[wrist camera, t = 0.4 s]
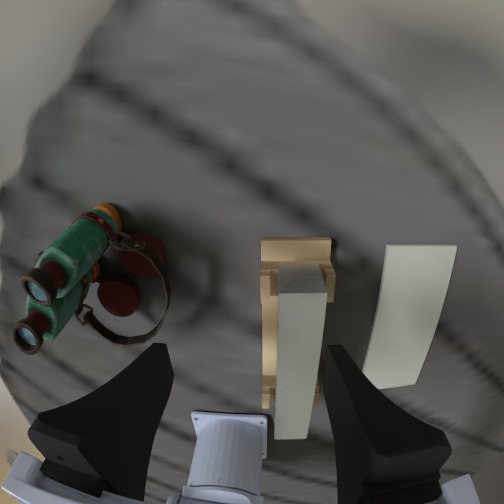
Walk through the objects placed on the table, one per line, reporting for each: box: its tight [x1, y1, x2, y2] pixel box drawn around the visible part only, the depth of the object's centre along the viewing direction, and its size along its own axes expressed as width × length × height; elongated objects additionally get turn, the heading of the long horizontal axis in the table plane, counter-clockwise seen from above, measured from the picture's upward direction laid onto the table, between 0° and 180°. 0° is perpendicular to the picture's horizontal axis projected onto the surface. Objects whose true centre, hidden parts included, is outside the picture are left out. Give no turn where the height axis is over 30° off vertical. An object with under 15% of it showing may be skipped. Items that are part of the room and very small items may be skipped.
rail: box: [274, 262, 327, 439], centre depth 21 cm, size 14×3×4 cm, turn 2°
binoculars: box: [12, 203, 171, 355], centre depth 18 cm, size 9×11×10 cm
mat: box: [362, 244, 457, 389], centre depth 23 cm, size 15×6×1 cm, turn 2°
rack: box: [260, 237, 336, 408], centre depth 23 cm, size 16×5×3 cm, turn 2°
